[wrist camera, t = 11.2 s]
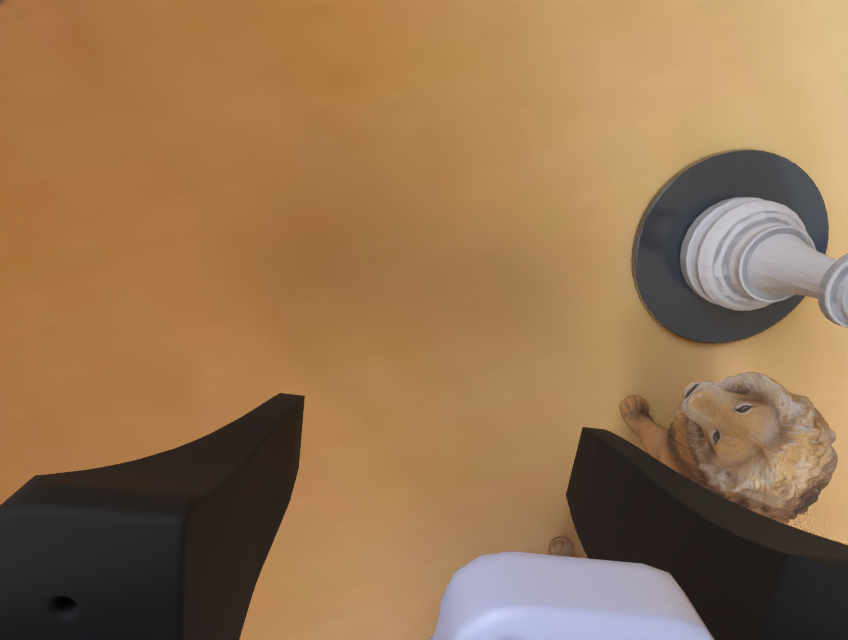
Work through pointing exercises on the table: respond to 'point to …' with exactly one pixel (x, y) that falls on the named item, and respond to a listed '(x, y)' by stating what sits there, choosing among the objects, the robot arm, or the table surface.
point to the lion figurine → (740, 445)
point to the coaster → (677, 213)
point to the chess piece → (760, 259)
